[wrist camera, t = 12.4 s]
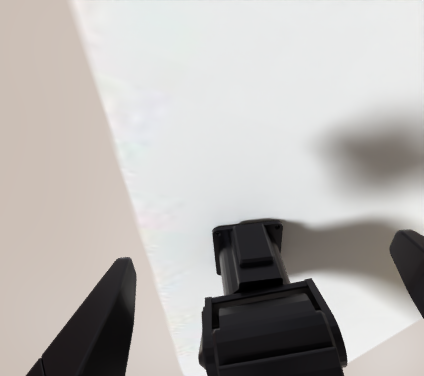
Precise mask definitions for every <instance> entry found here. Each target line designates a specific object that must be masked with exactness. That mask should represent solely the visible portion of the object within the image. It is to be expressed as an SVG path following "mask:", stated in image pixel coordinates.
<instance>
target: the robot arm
mask: <svg viewBox="0 0 424 376" xmlns="http://www.w3.org/2000/svg"><path fill="white" fill-rule="evenodd" d="M277 225H278V226H277ZM275 226H276V227H275ZM282 230H283V226H282V223H281V222H280V221H269V222H260V223H251V224H242V225H233V226H224V227H216V228H214V229H213V230H212V234H213V243H214V252H215V262H216V271H217V274H218V275H222V283H223V291H224V296H219V297H213V298H212V297H207V298H205V307H203V311H202V338H201V343H200V349H199V356H198V358H199V364H200V365H201V366H202V367H203V368H204V369H205V370H206V372H207V375H208V376H344V373H343V370H342V368H343V367H346V366H347V354H346V349H345V345H344V341H343V338H342V335H341V332H340V329H339V327H338V324H337V322H336V320H335V318H334V316H333V314H332V312H331V310H330V309H329V307H328V305H327V304H326V302H325V300H324V299H323V297H322V295H321V294H320V292H319V290H318V288H317V287H316V285H315V283H314V282H313V280H312V278H310V279H305V280H304V281H300V282H295V283H290V281H289V278H288V275H287V272H286V269H285V266H284V264H283V261H282V258H281V255H280V252H281V241H282ZM217 232H219V233H217ZM390 254H391V256H392V258H393V261H394V263H395V265H396V267H397V269H398V271H399V273H400V276H401V278H402V280H403V282H404V284H405V286H406V289H407V291H408V292H409V294H410V296H411V298H412V300H413V302H414V303H415V305H416V307H417V308H418V310H419V312H420V313H421V315H422V317H423V319H424V236H422V235H420V234H419V233H417V232H415V231H413V230H399V231H397V232H396V234H395V236H394V238H393V240H392V243H391V245H390ZM135 295H136V272H135V269H134V266H133V263H132V260H131V258H130V257H125V258H118V259H117V260H116V261H115V262H114V263H113V265H112V266H111V267H110V269H109V270H108V271H107V272H106V274H105V275H104V276H103V277H102V279H101V280H100V281H99V283H98V284H97V285H96V286H95V288H94V289H93V290H92V291H91V293H90V294H89V295H88V297H87V298H86V299H85V301H84V302H83V303H82V304H81V306H80V307H79V308H78V310H77V311H76V312H75V313H74V315H73V316H72V317H71V319H70V320H69V321H68V322H67V324H66V325H65V326H64V327H63V329H62V330H61V331H60V333H59V334H58V335H57V337H56V338H55V339H54V340H53V342H52V343H51V344H50V346H49V347H48V348H47V349H46V351H45V352H44V353H43V354H42V358H40V359H38V361H37V362H36V363H35V365H34V366H33V367H32V368H31V370H30V371H29V372H28V374H27V375H26V376H125V372H126V367H127V361H128V355H129V350H130V344H131V338H132V332H133V325H134V312H135Z"/></svg>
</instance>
